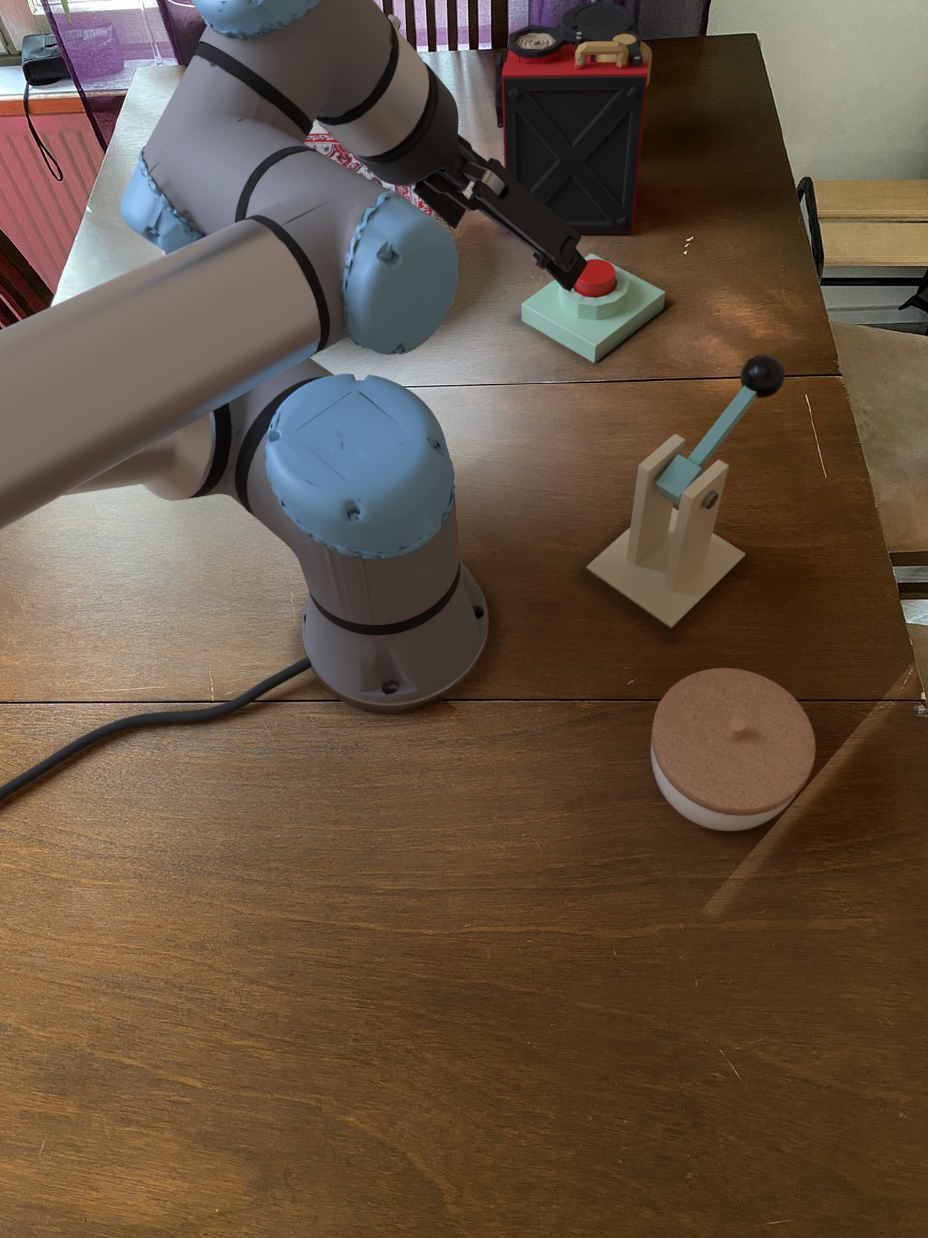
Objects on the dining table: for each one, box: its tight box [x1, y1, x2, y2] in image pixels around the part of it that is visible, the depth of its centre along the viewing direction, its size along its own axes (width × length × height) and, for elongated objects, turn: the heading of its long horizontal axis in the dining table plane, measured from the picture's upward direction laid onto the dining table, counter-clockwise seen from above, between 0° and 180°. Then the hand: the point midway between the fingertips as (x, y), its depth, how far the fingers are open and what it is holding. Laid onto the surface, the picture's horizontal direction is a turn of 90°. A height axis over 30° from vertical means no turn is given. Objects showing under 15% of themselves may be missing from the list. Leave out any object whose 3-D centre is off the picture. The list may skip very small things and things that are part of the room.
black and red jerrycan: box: [493, 24, 653, 235], centre depth 103 cm, size 16×10×20 cm, turn 84°
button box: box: [520, 252, 666, 364], centre depth 99 cm, size 11×10×4 cm
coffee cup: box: [555, 1, 640, 62], centre depth 112 cm, size 9×9×15 cm
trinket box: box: [650, 667, 817, 832], centre depth 67 cm, size 11×11×9 cm
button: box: [574, 259, 615, 298], centre depth 97 cm, size 4×4×2 cm
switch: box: [656, 353, 786, 507], centre depth 73 cm, size 13×3×3 cm, turn 135°
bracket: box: [585, 433, 746, 629], centre depth 77 cm, size 10×9×13 cm
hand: (516, 243), depth 84 cm, fingers open, 13 cm apart
